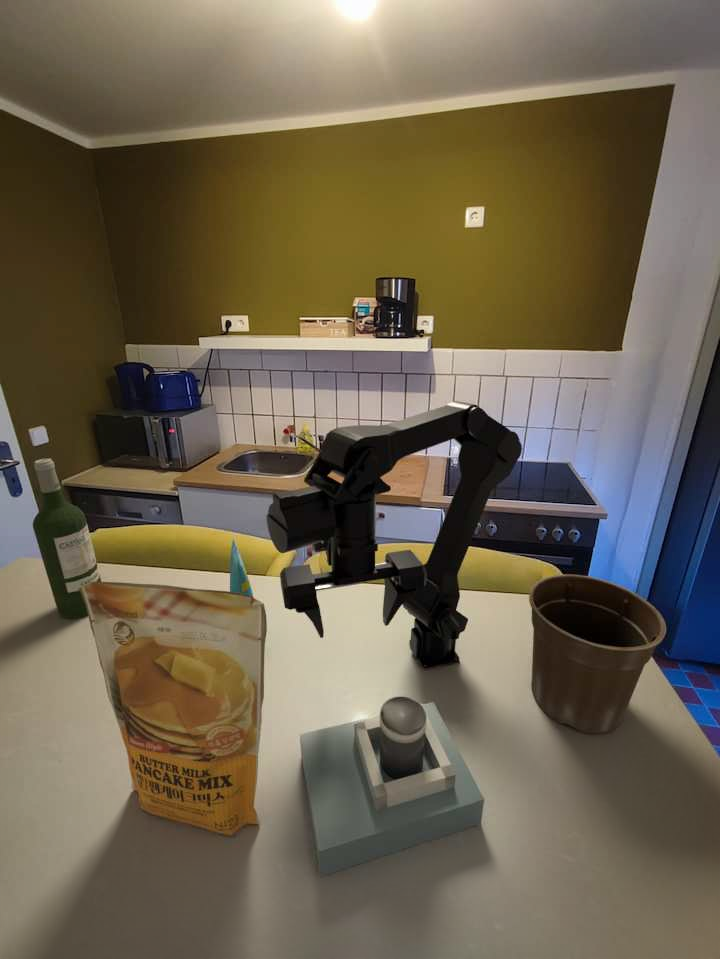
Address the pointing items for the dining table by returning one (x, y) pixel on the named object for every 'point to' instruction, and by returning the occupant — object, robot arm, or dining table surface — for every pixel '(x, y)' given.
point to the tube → (238, 573)
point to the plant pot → (589, 649)
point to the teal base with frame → (382, 793)
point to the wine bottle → (63, 544)
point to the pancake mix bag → (185, 696)
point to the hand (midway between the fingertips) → (354, 629)
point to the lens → (402, 737)
